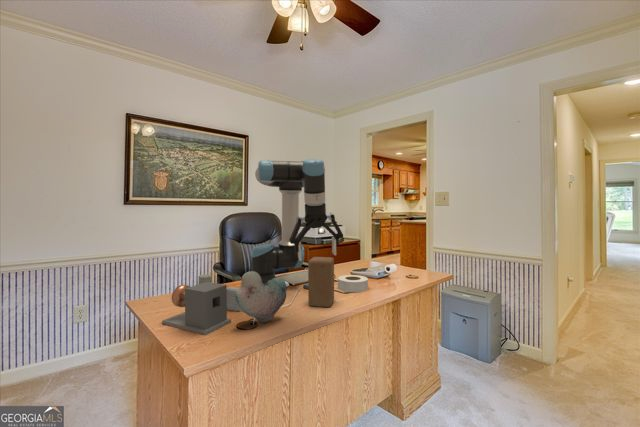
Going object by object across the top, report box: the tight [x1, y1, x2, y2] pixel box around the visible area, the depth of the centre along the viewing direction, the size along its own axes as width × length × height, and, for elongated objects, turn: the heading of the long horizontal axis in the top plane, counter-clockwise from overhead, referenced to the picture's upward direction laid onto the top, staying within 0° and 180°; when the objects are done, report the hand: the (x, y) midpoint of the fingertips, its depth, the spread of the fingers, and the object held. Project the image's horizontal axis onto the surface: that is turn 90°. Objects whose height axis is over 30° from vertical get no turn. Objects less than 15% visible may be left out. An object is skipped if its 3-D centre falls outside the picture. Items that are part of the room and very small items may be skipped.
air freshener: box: [198, 273, 213, 284], centre depth 143 cm, size 11×8×10 cm
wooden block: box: [307, 256, 335, 308], centre depth 131 cm, size 10×10×20 cm
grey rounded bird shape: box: [235, 270, 287, 323], centre depth 110 cm, size 21×9×20 cm, turn 130°
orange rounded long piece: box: [171, 284, 191, 308], centre depth 110 cm, size 14×8×8 cm, turn 64°
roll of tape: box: [337, 274, 369, 293], centre depth 155 cm, size 16×16×6 cm
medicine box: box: [226, 286, 243, 312], centre depth 124 cm, size 8×4×9 cm, turn 71°
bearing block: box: [161, 282, 232, 336], centre depth 110 cm, size 22×12×14 cm, turn 64°
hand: (317, 256), depth 113 cm, fingers open, 13 cm apart
